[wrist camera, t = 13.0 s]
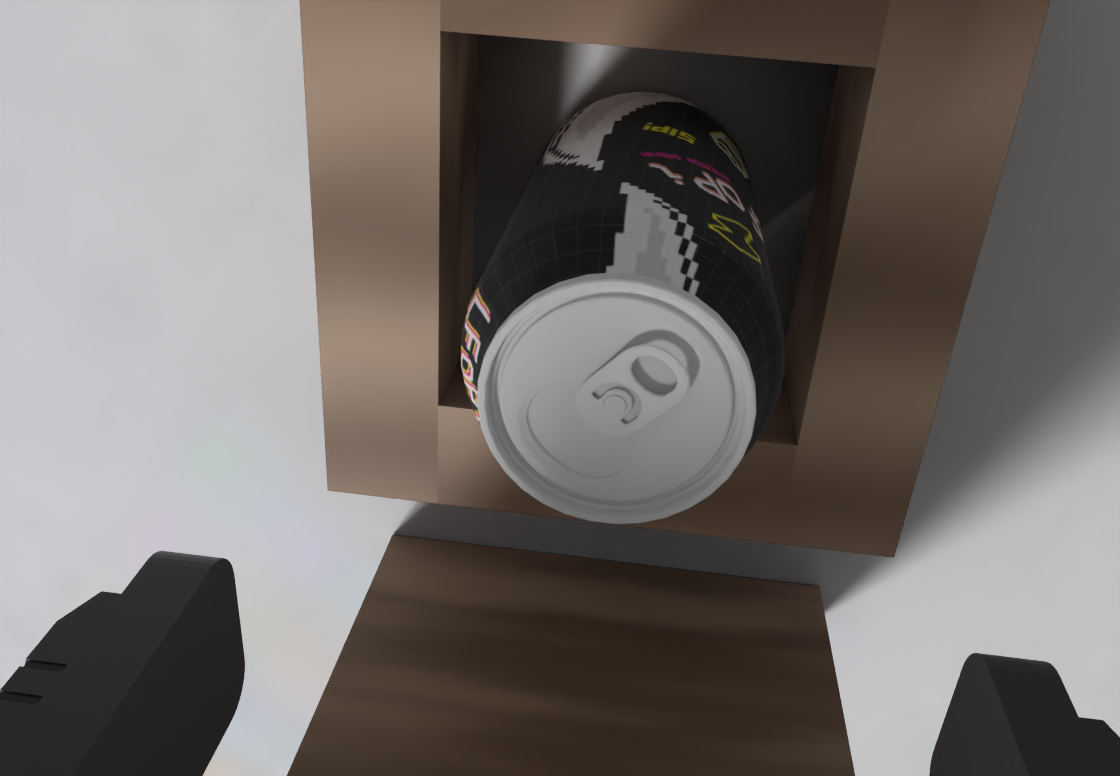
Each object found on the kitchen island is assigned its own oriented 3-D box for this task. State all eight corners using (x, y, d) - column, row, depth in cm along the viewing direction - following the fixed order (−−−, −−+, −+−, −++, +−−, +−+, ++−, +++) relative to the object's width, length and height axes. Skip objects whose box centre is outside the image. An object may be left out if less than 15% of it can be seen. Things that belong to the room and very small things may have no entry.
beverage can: (795, 195, 26) (874, 419, 15) (639, 332, 28) (614, 610, 18) (643, 35, 24) (613, 161, 14) (492, 194, 27) (368, 404, 16)
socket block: (358, -140, 23) (291, -142, 19) (1004, -93, 22) (1073, -85, 18) (374, 409, 30) (327, 490, 26) (865, 464, 29) (893, 557, 25)
